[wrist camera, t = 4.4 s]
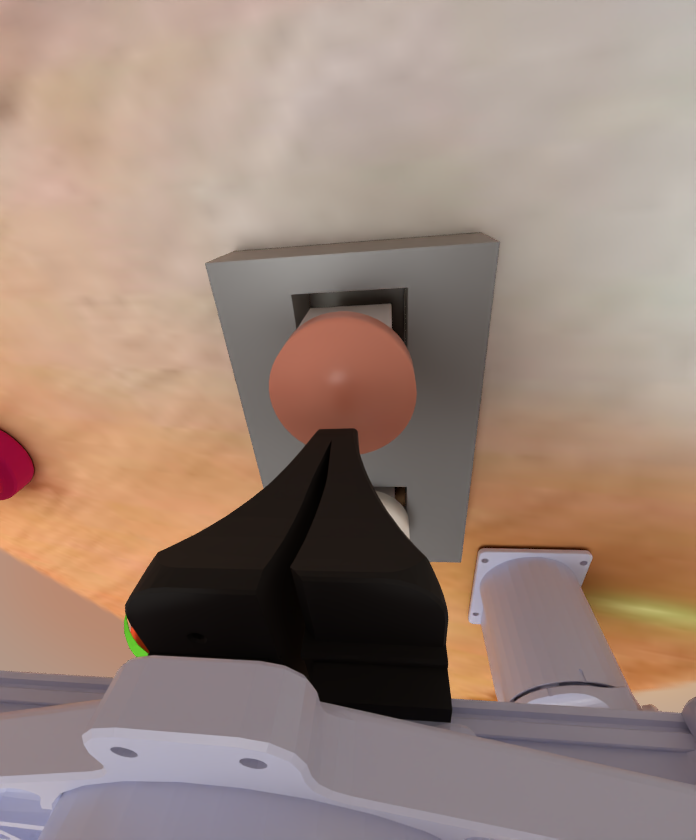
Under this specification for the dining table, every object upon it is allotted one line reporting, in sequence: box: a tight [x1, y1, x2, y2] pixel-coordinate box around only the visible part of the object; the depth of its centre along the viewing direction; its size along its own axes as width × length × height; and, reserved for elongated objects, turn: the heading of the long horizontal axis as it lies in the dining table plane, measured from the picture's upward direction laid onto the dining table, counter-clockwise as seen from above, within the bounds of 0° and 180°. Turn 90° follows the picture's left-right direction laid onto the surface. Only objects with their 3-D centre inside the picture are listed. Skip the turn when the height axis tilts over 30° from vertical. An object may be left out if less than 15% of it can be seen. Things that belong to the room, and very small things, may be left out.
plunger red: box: [269, 304, 417, 454], centre depth 15 cm, size 5×5×5 cm
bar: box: [205, 232, 500, 562], centre depth 22 cm, size 19×12×4 cm, turn 4°
